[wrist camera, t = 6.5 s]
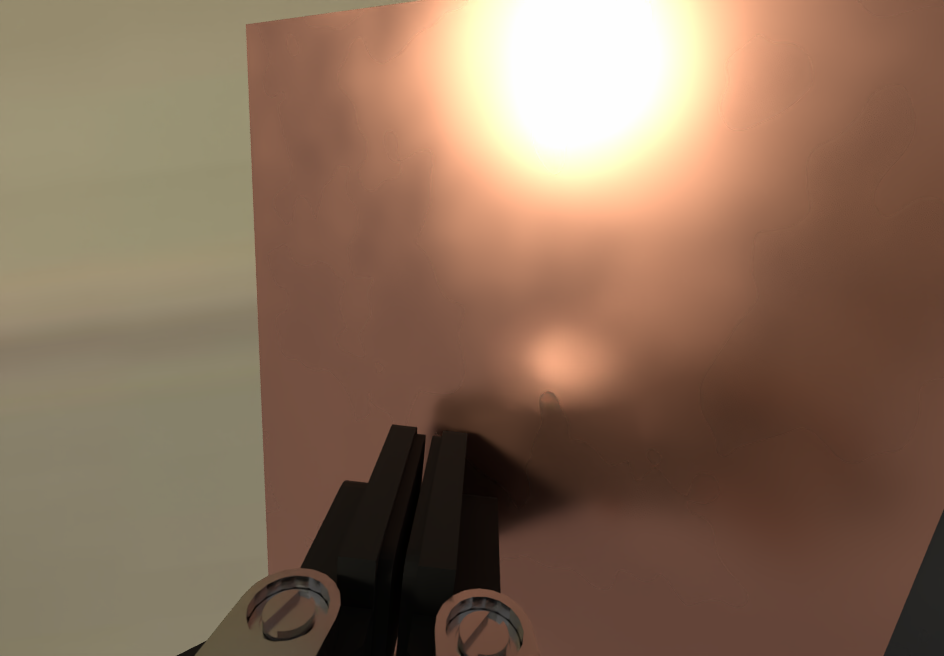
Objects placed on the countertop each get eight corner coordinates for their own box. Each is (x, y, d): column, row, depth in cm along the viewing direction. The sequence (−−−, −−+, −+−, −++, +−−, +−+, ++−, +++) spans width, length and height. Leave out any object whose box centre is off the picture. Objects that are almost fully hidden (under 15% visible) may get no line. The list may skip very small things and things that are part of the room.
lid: (292, 46, 13) (180, 8, 10) (1347, -54, 5) (1873, -298, 3) (302, 616, 18) (230, 678, 16) (828, 994, 10) (845, 1233, 8)
